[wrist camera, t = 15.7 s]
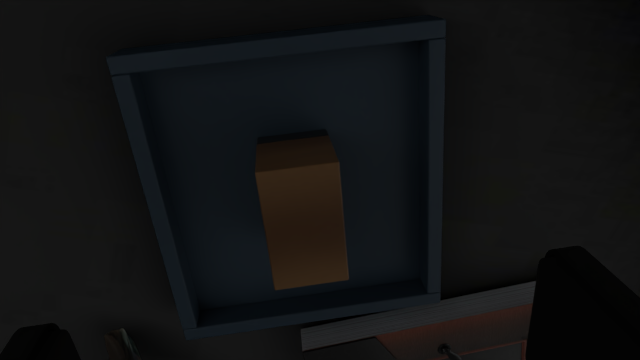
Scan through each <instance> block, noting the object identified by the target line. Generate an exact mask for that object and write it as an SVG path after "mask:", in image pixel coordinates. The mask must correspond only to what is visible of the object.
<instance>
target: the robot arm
mask: <svg viewBox="0 0 640 360" xmlns="http://www.w3.org/2000/svg"><path fill="white" fill-rule="evenodd" d="M525 357H526V360H640V298H639V297H638V296H637V295H636V294H635V293H634V292H633V291H631V290H630V289H629V288H628V287H627V286H626V285H625V284H624V283H622V282H621V281H620V280H619V279H618V278H617V277H616V276H615V275H613V274H612V273H611V272H610V271H609V270H608V269H607V268H606V267H604V266H603V265H602V264H601V263H600V262H599V261H598V260H597V259H595V258H594V257H593V256H592V255H591V254H590V253H589V252H588V251H586V250H585V249H584V248H582V247H580V246H572V247H565V248H559V249H552V250H549V251H548V252H547V253H546V256H545V258H542V259H541V260H540V261H539V264H538V271H537V278H536V285H535V291H534V298H533V305H532V312H531V319H530V325H529V332H528V339H527V346H526V353H525ZM0 360H81V359H80V357H79V355H78V352H77V350H76V348H75V346H74V343H73V341H72V339H71V336H70V334H69V333H68V331H66V330H60V329H59V327H58V326H57V325H56V324H53V323H50V324H43V325H36V326H30V327H23V328H20V329H18V330H17V331H16V332H15V333H14V334H13V336H12V337H11V339H10V340H9V342H8V343H7V345H6V346H5V348H4V349H3V351H2V353H1V354H0Z"/></svg>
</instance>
